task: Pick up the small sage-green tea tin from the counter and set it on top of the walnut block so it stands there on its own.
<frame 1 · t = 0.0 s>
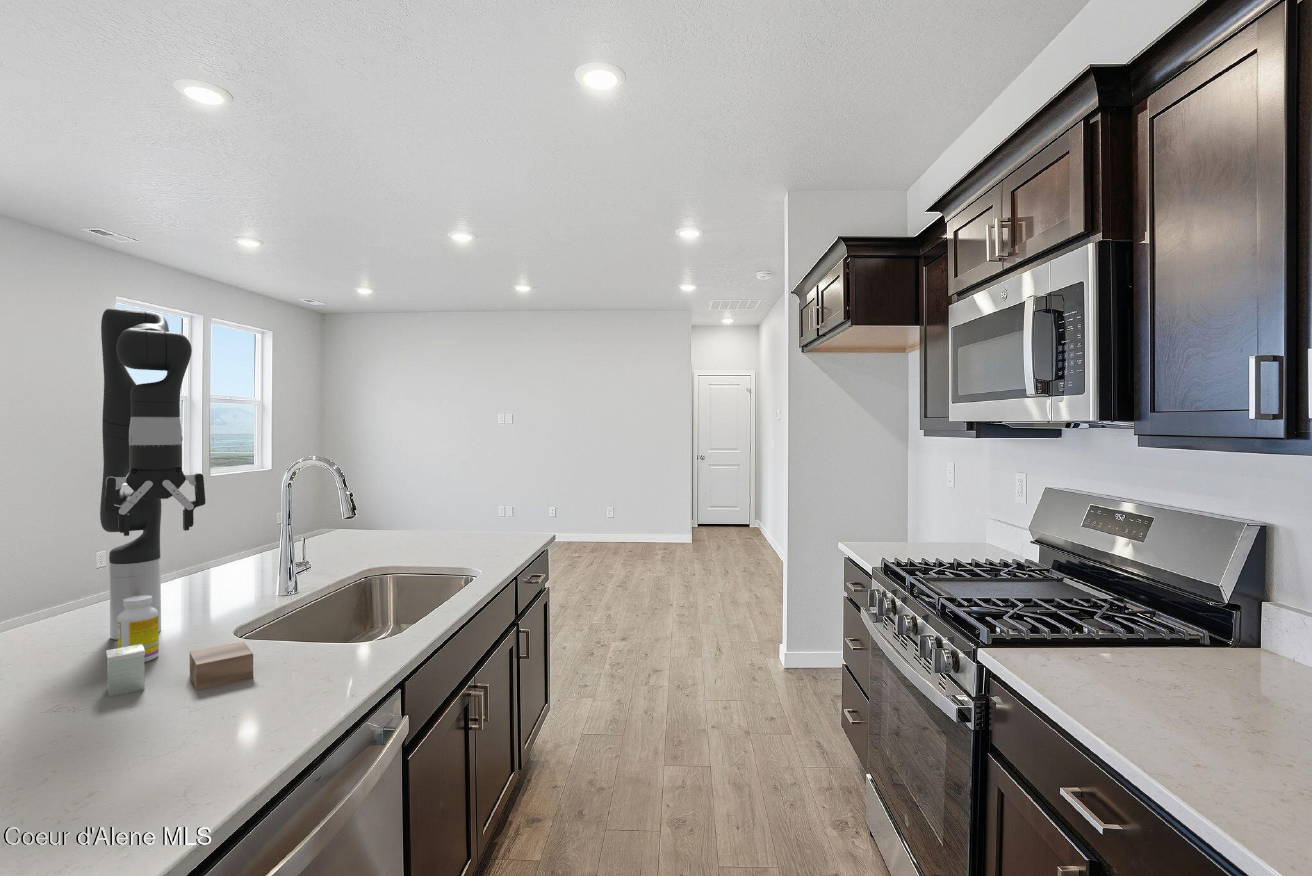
hand: (156, 532, 116), 29 cm above the counter, tool pointing down, fingers open, 8 cm apart
supplement bottle: (138, 660, 134), on the counter
tea tin: (126, 688, 119), on the counter
walnut block: (221, 678, 125), on the counter
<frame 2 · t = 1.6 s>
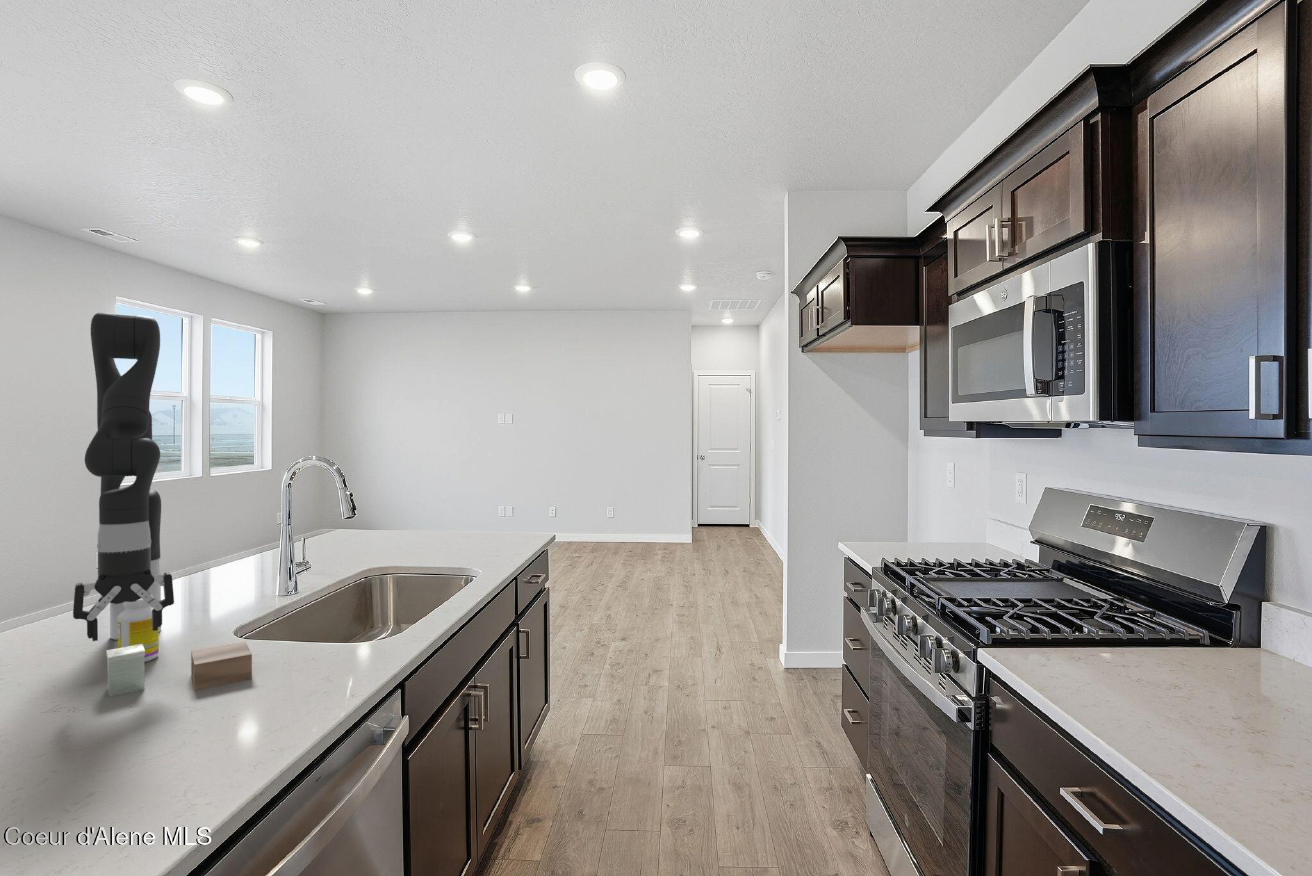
hand: (125, 634, 119), 10 cm above the counter, tool pointing down, fingers open, 8 cm apart
nothing on the counter moved.
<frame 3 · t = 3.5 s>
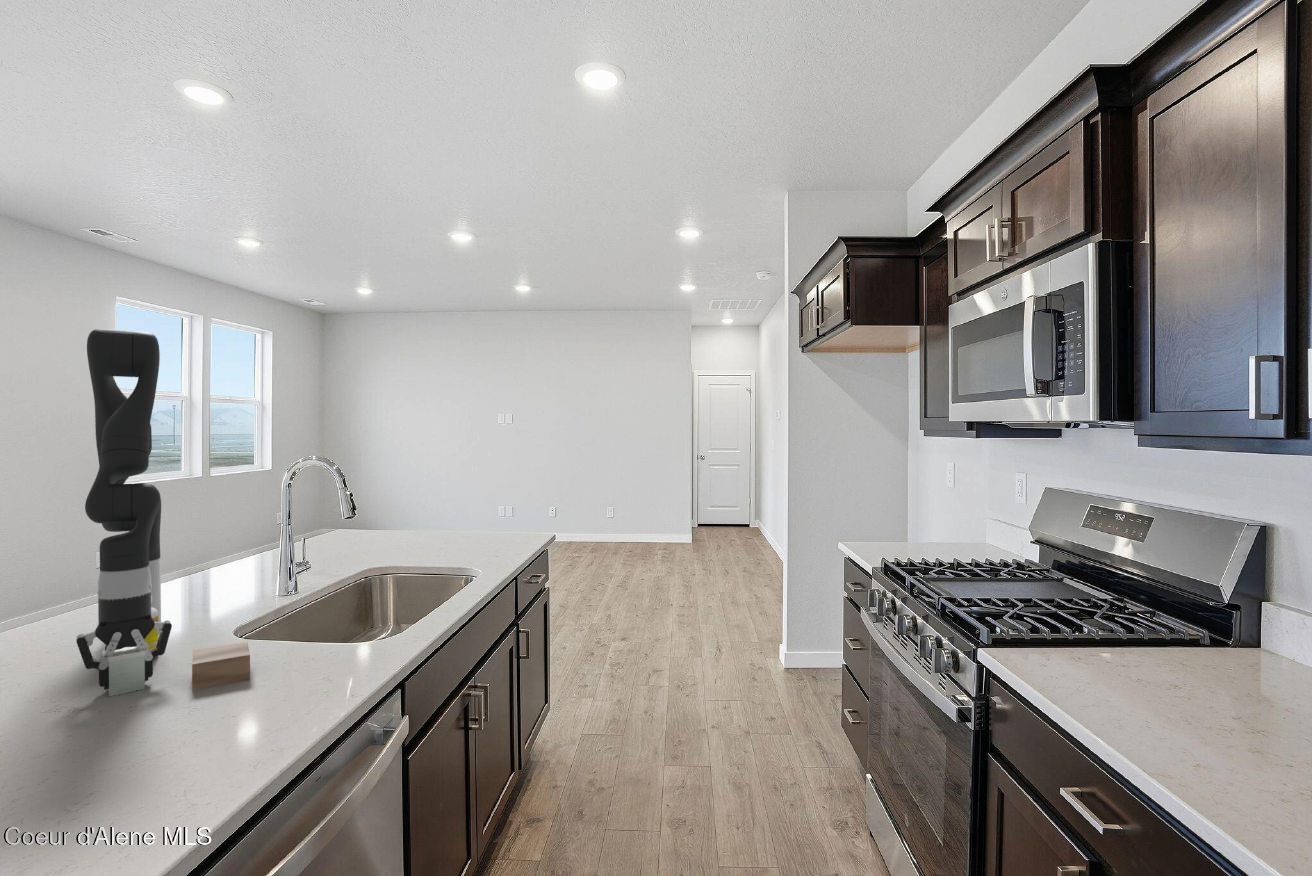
hand: (126, 683, 119), 1 cm above the counter, tool pointing down, fingers closed on tea tin, 5 cm apart
tea tin: (126, 688, 119), on the counter, touching gripper
everything else where it was.
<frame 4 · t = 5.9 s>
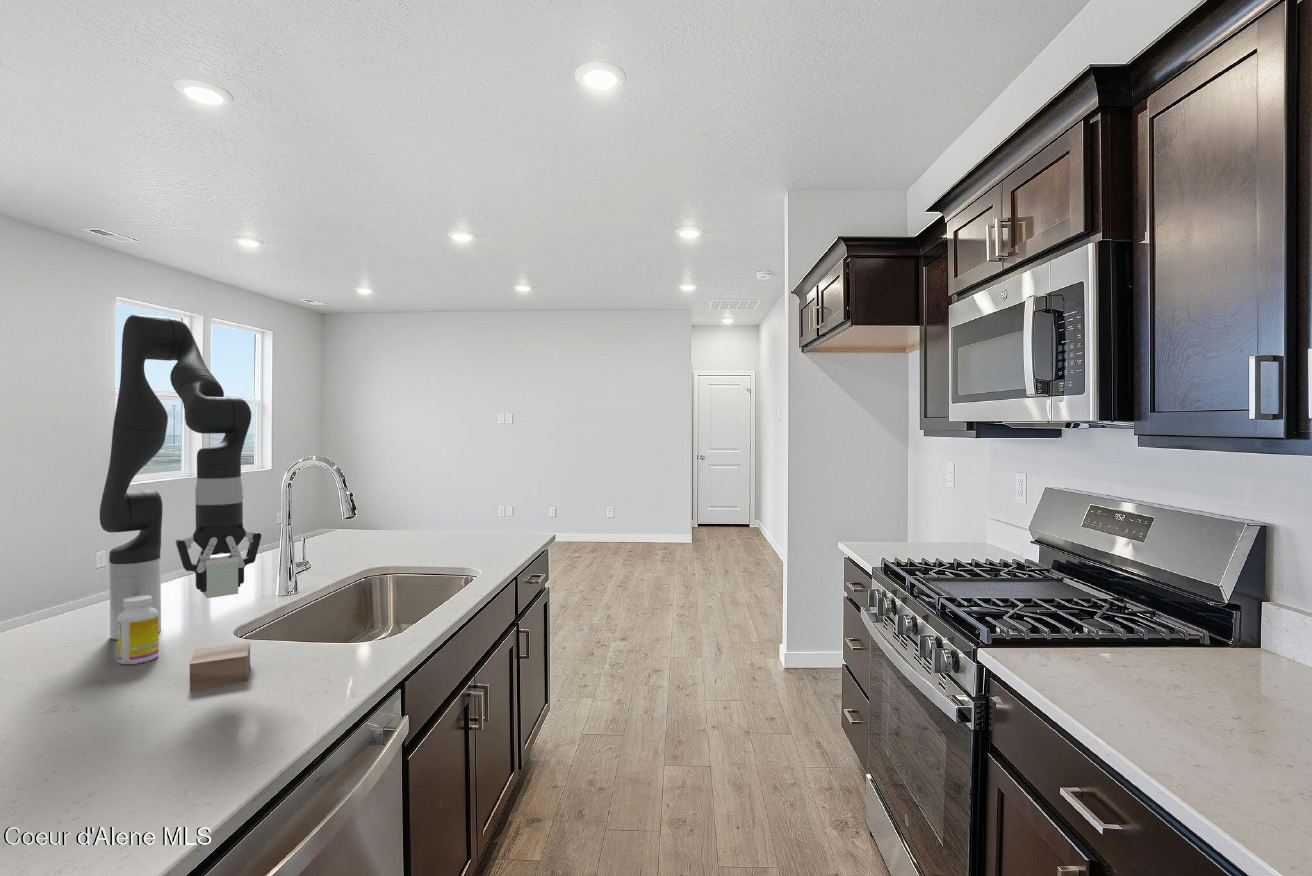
hand: (220, 588, 125), 17 cm above the counter, tool pointing down, fingers closed on tea tin, 5 cm apart
tea tin: (220, 593, 125), point 16 cm above the counter, touching gripper
everything else where it was.
when the fingers open (7 cm above the counter, at t = 8.6 s): tea tin drops 1 cm, resting on walnut block.
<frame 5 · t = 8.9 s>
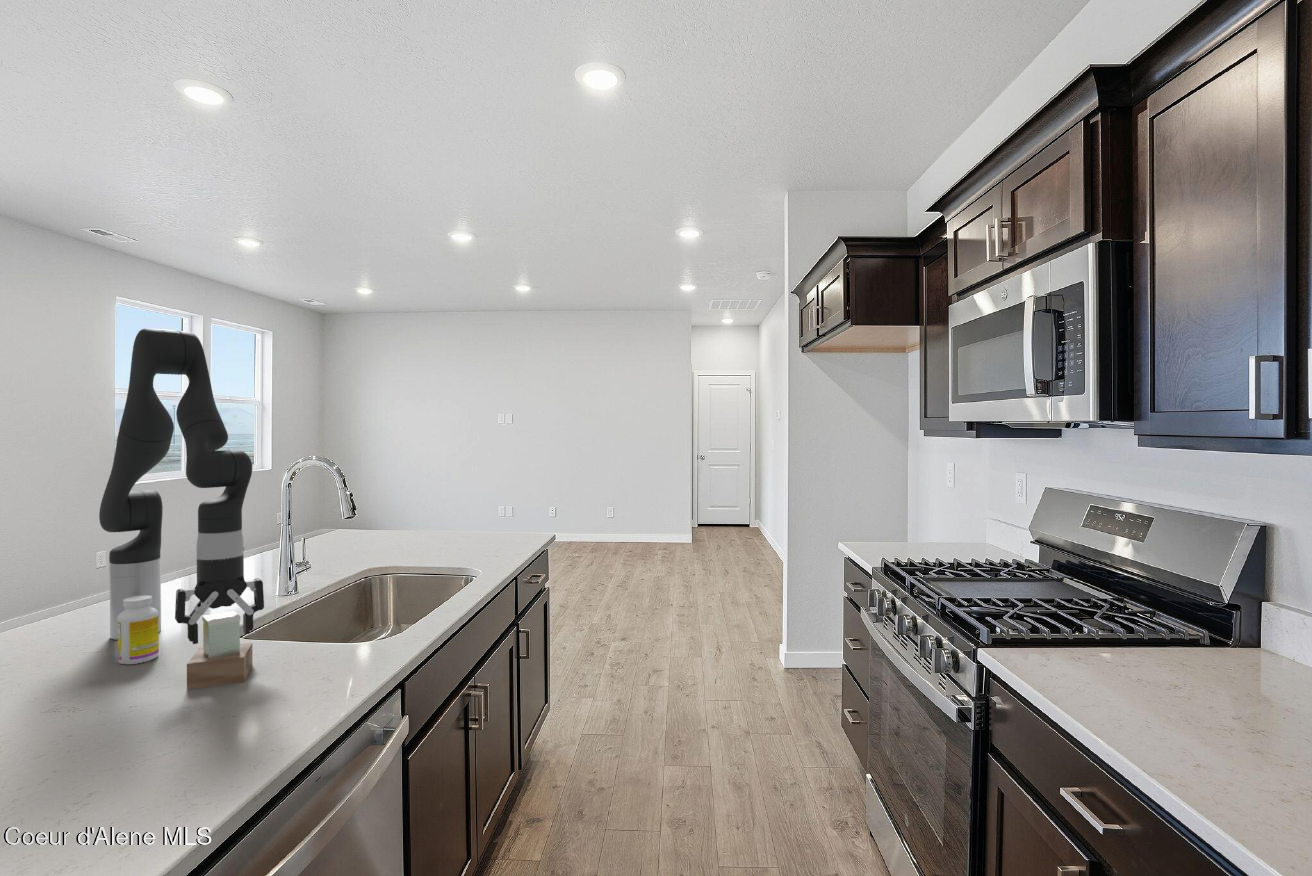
hand: (221, 637, 125), 8 cm above the counter, tool pointing down, fingers open, 8 cm apart
tea tin: (221, 652, 125), point 5 cm above the counter, touching walnut block
walnut block: (221, 678, 125), on the counter, touching tea tin
everything else where it was.
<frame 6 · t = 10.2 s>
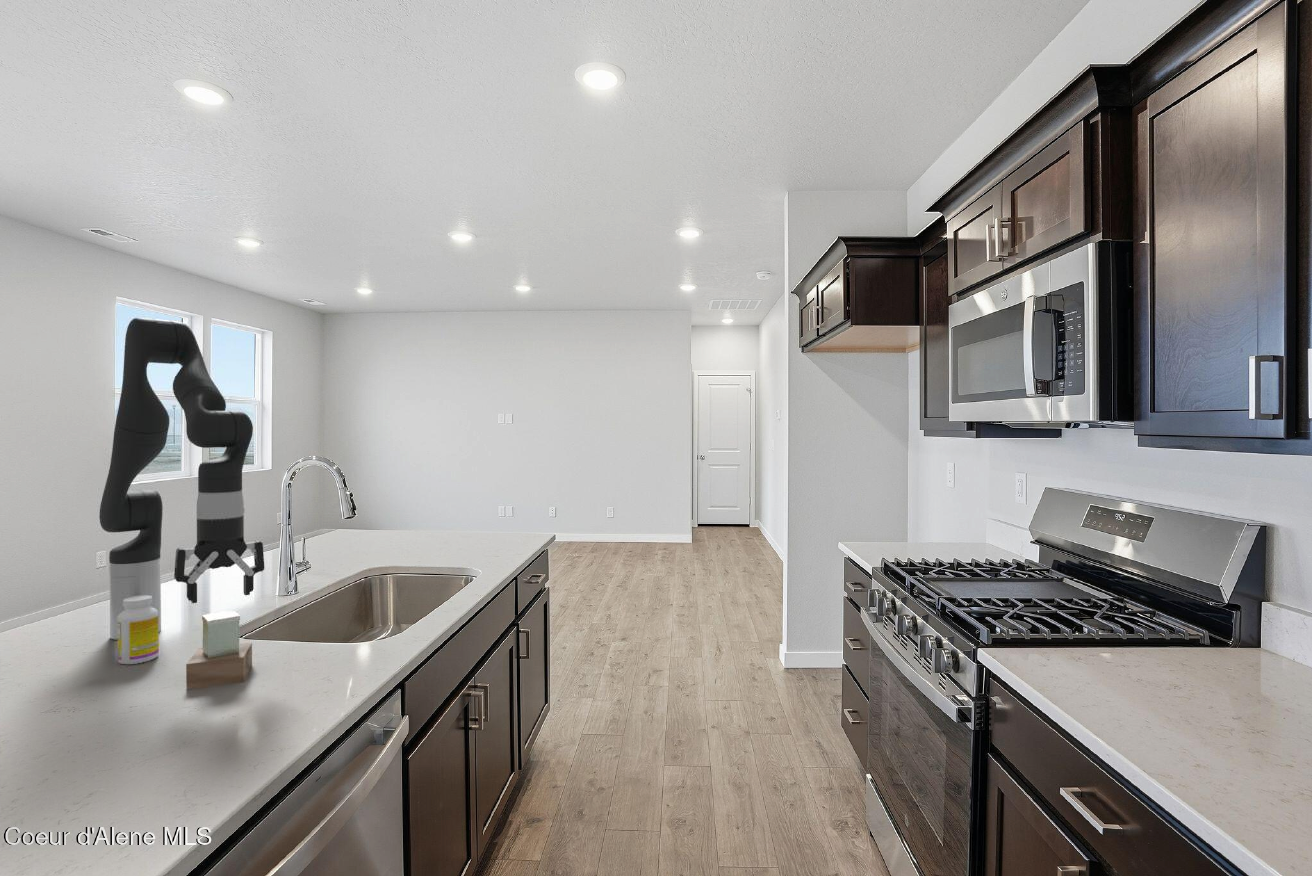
hand: (220, 598, 125), 15 cm above the counter, tool pointing down, fingers open, 8 cm apart
nothing on the counter moved.
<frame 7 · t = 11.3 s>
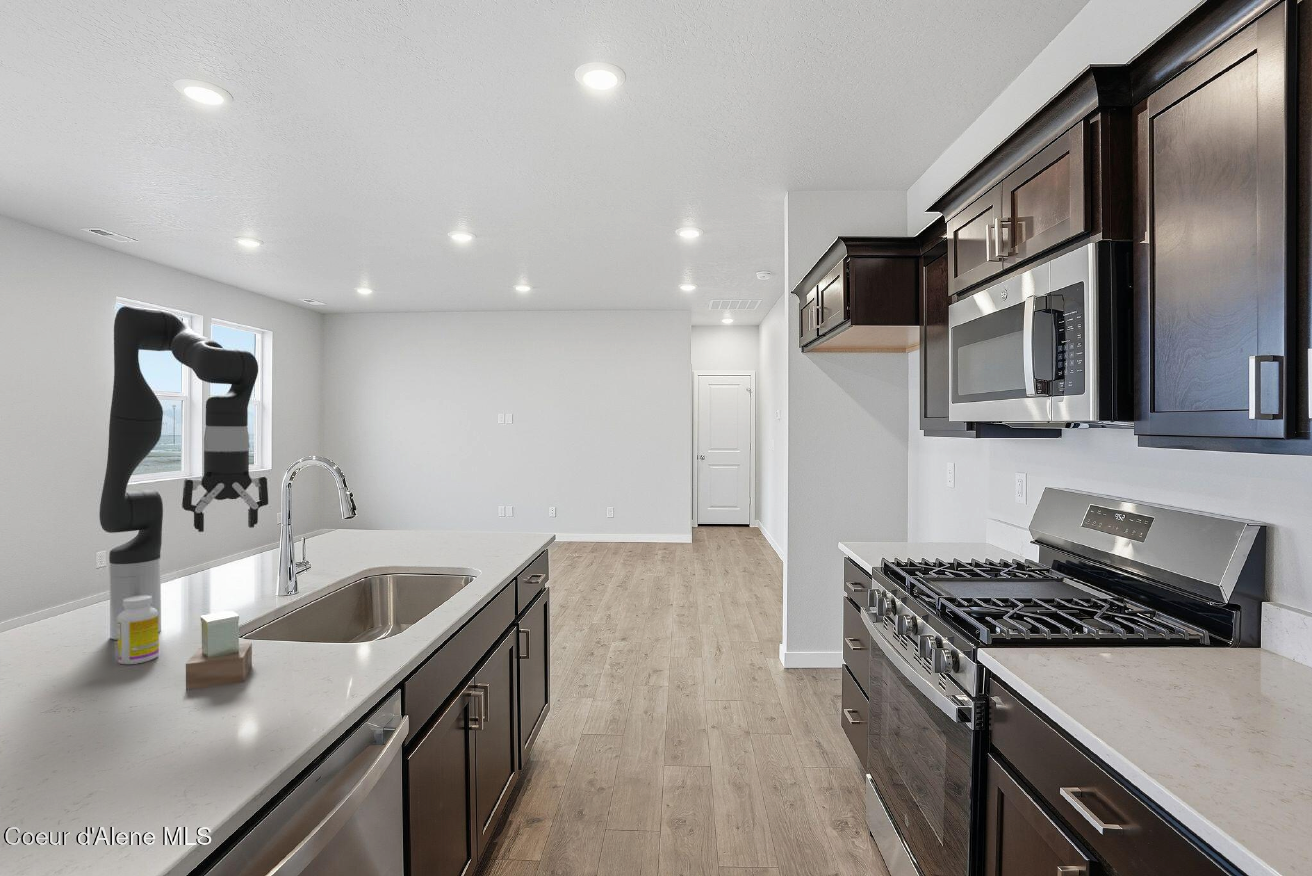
hand: (226, 529, 130), 28 cm above the counter, tool pointing down, fingers open, 8 cm apart
nothing on the counter moved.
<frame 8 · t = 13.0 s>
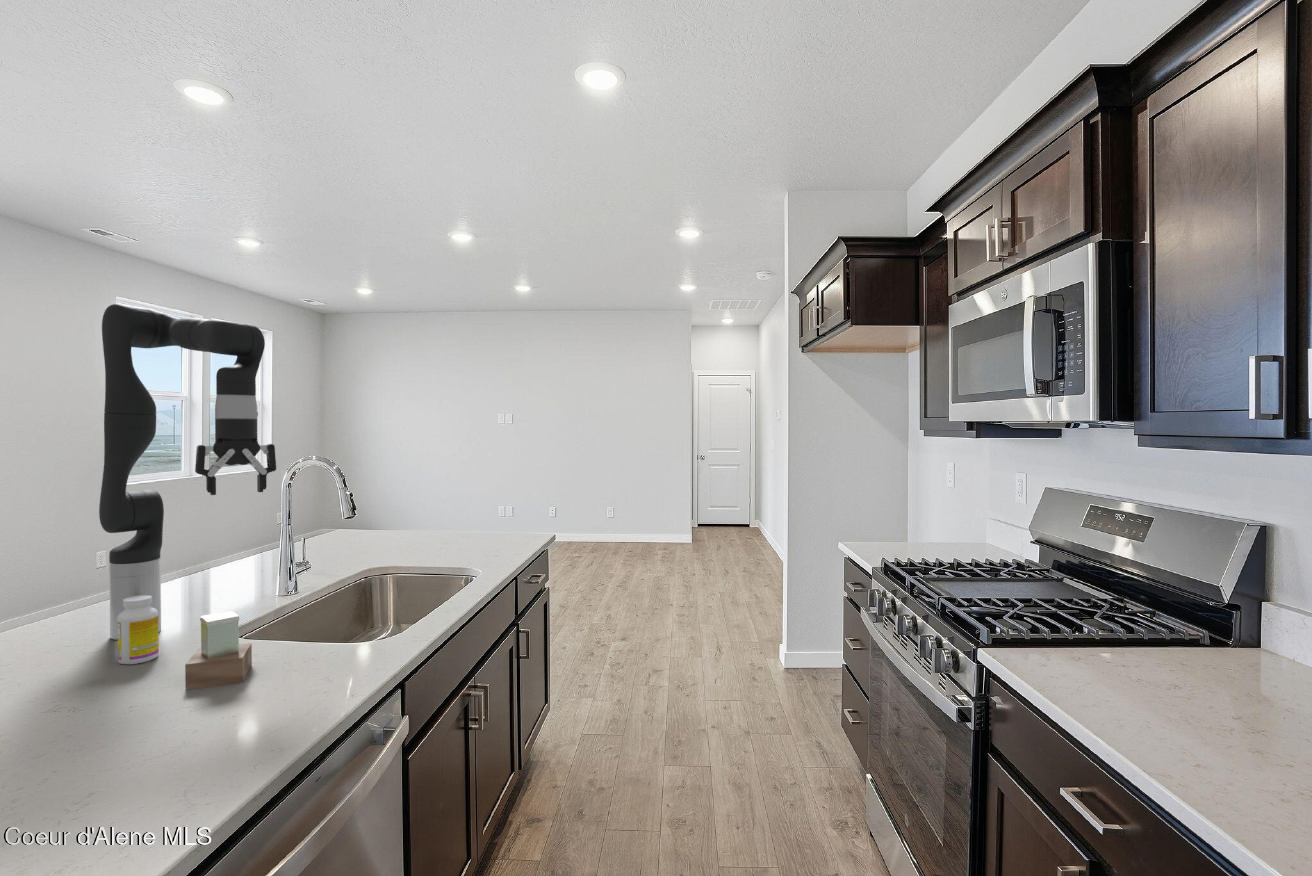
hand: (237, 493, 137), 34 cm above the counter, tool pointing down, fingers open, 8 cm apart
nothing on the counter moved.
at the end: tea tin inside the target area on the walnut block (0.4 cm from its centre), point 5.0 cm above the walnut block's base; tea tin tilted 0°; the gripper is holding nothing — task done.
